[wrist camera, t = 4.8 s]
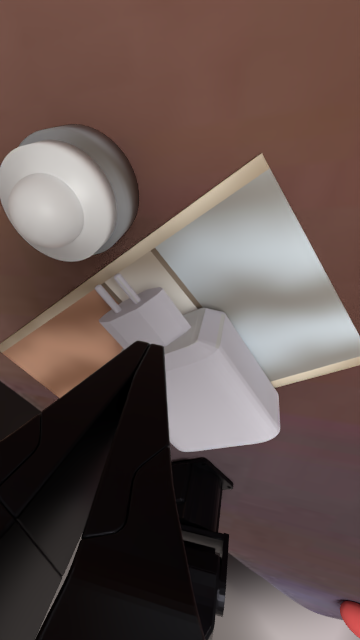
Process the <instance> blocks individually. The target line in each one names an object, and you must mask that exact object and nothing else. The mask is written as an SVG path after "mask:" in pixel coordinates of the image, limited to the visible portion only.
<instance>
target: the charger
mask: <svg viewBox="0 0 360 640" xmlns="http://www.w3.org/2000/svg"><path fill="white" fill-rule="evenodd" d="M114 279H115V281H116V282H117V283H118V284H119V286H120V287H121V288H122V289H123V290H124V292H125V293H126V294H127V295H128V296H129V299H127V300H125V301H123V302H121V303H120V304H119V305H118V304H117V303H116V302H115V301H114V299H113V298H112V297H111V296H110V295H109V294H108V292H107V291H106V290H105V289H104V288H103V287H102V285H97V286H96V287H95V290H96V291H97V293H98V294H99V295H100V296H101V297H102V298H103V299H104V301H105V302H106V303H107V304H108V305H109V306H110V307H111V309H112V310H110V311H109V312H107V313H106V314H105V315H104V316H103V317H101V318H100V319H99V322H100V324H101V325H102V326H103V327H104V328H105V329H106V330H107V331H108V332H109V333H110V334H111V335H112V336H113V338H114V339H115V340H116V341H117V342H118V343H119V344H120V345H121V346H122V347H123V349H122V351H123V350H125V349H126V348H127V347H129V346H130V345H131V344H133V343H134V342H135V341H143V342H148V343H150V344H158V345H162V346H164V352H165V369H166V386H167V403H168V420H169V437H170V442H171V443H172V444H173V445H174V446H175V447H176V448H177V449H178V450H180V451H183V452H193V451H201V450H209V449H217V448H224V447H232V446H240V445H248V444H256V443H261V442H265V441H268V440H271V439H272V438H274V437H276V436H277V434H278V433H279V431H280V416H279V395H278V393H277V391H276V390H275V388H274V387H273V385H272V384H271V382H270V381H269V379H268V378H267V376H266V374H265V373H264V371H263V370H262V368H261V367H260V365H259V364H258V362H257V361H256V359H255V358H254V356H253V355H252V353H251V352H250V350H249V349H248V347H247V346H246V344H245V343H244V341H243V340H242V338H241V337H240V335H239V334H238V332H237V331H236V329H235V328H234V326H233V324H232V323H231V321H230V320H229V318H228V317H227V315H226V314H225V312H221V311H217V310H212V309H208V308H200V309H197V310H195V311H192V312H190V313H187V314H185V315H182V314H181V312H180V311H179V310H178V308H177V307H176V306H175V304H174V303H173V302H172V300H171V299H170V298H169V296H168V295H167V294H166V292H165V291H164V290H163V289H162V288H161V287H157V288H152V289H147V290H145V291H143V292H141V293H139V294H136V293H135V291H134V290H133V289H132V288H131V286H130V285H129V284H128V283H127V281H126V280H125V279H124V278H123V276H122V275H121V274H119V273H118V274H116V275H115V276H114ZM122 351H121V352H122ZM121 352H120V353H121Z"/></svg>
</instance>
